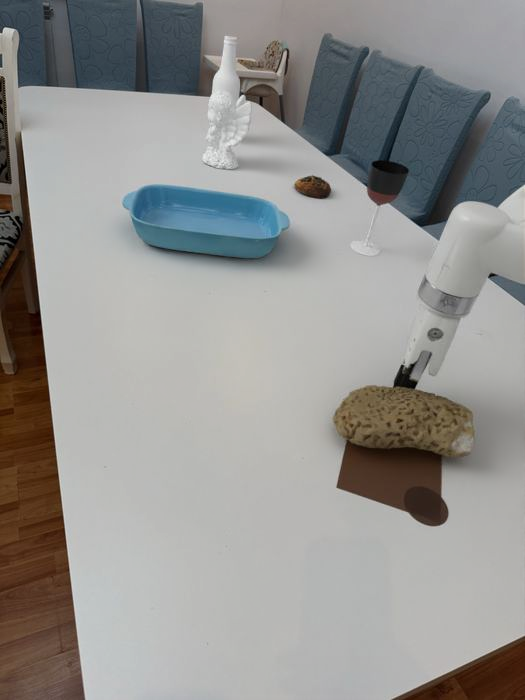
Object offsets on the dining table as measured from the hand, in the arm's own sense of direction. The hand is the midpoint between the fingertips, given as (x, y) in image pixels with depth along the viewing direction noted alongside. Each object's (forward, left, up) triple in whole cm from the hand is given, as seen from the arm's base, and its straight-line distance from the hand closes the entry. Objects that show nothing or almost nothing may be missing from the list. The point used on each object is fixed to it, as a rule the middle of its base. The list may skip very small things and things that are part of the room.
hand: (402, 388), depth 80 cm
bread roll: (-36, -76, -3) cm, 85 cm away
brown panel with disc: (+9, +9, -3) cm, 12 cm away
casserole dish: (+7, -58, -3) cm, 59 cm away
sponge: (+6, +6, -3) cm, 9 cm away
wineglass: (-29, -43, -3) cm, 53 cm away
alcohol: (-29, -121, -3) cm, 125 cm away
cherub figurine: (-19, -101, -3) cm, 103 cm away
